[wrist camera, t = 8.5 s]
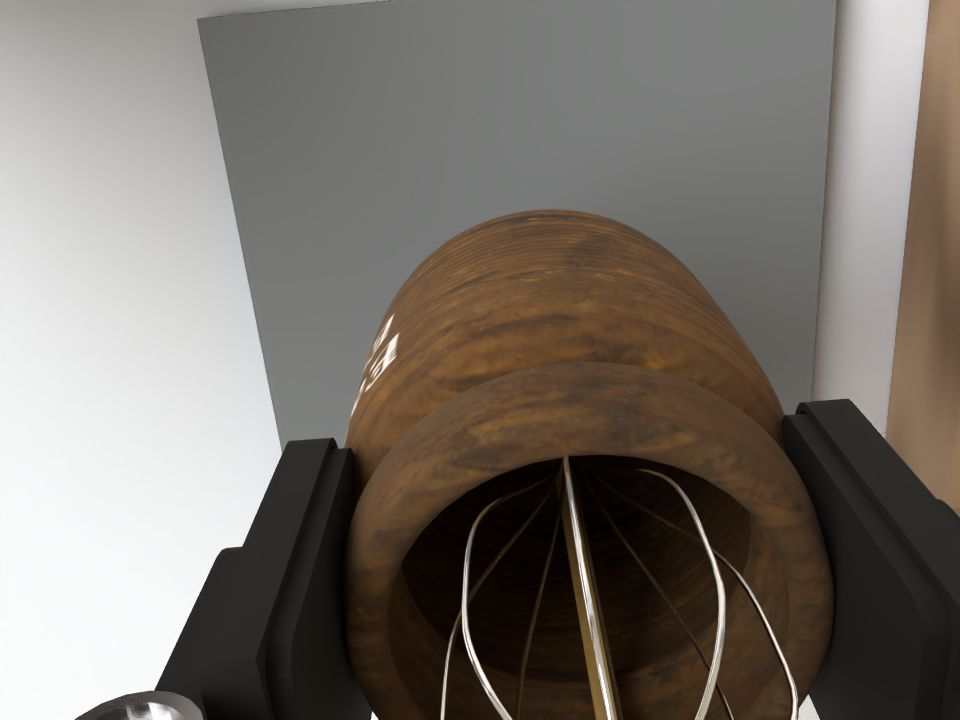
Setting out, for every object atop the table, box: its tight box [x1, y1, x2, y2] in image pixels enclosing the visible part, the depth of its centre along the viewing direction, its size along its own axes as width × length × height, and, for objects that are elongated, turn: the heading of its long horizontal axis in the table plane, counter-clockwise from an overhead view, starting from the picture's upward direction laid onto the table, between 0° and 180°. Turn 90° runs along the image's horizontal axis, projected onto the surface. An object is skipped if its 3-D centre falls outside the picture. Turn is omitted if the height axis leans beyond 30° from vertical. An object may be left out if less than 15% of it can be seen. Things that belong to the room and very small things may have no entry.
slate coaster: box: [197, 0, 837, 453], centre depth 19 cm, size 12×12×1 cm
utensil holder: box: [343, 209, 834, 720], centre depth 10 cm, size 6×6×12 cm
